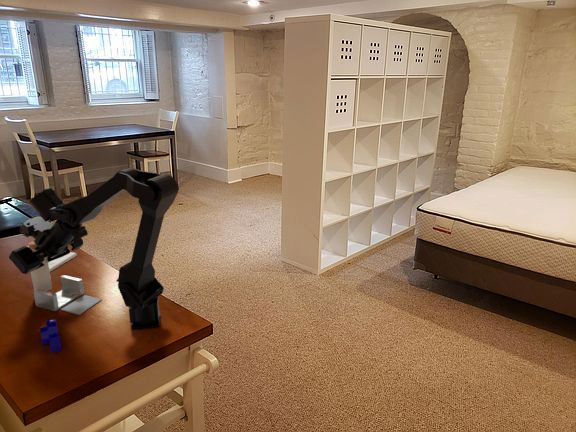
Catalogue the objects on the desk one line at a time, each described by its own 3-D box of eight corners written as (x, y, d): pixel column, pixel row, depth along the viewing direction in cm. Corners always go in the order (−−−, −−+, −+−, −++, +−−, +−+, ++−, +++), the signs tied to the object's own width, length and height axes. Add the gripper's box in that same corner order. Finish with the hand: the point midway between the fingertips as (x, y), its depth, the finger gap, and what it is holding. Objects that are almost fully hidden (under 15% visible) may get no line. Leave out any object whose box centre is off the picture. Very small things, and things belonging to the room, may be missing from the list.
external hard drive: (77, 257, 144) (50, 273, 132) (55, 254, 145) (27, 270, 134) (76, 252, 143) (49, 268, 132) (55, 249, 145) (26, 265, 133)
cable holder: (41, 337, 101) (38, 322, 100) (57, 333, 103) (55, 318, 102) (44, 355, 95) (41, 340, 94) (61, 351, 97) (59, 336, 96)
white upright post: (54, 283, 120) (46, 239, 116) (49, 291, 116) (41, 245, 112) (36, 285, 119) (28, 240, 115) (31, 292, 115) (23, 246, 111)
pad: (101, 300, 117) (101, 299, 117) (79, 314, 110) (79, 313, 110) (84, 295, 119) (84, 294, 119) (61, 310, 112) (60, 309, 112)
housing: (84, 293, 120) (82, 279, 119) (55, 311, 111) (52, 296, 110) (66, 289, 122) (63, 275, 121) (36, 306, 113) (33, 291, 112)
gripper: (69, 199, 117) (44, 231, 124) (7, 221, 101) (-18, 256, 108) (96, 230, 118) (69, 260, 125) (38, 257, 101) (11, 290, 108)
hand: (35, 265), depth 116 cm, fingers closed on white upright post, 4 cm apart
